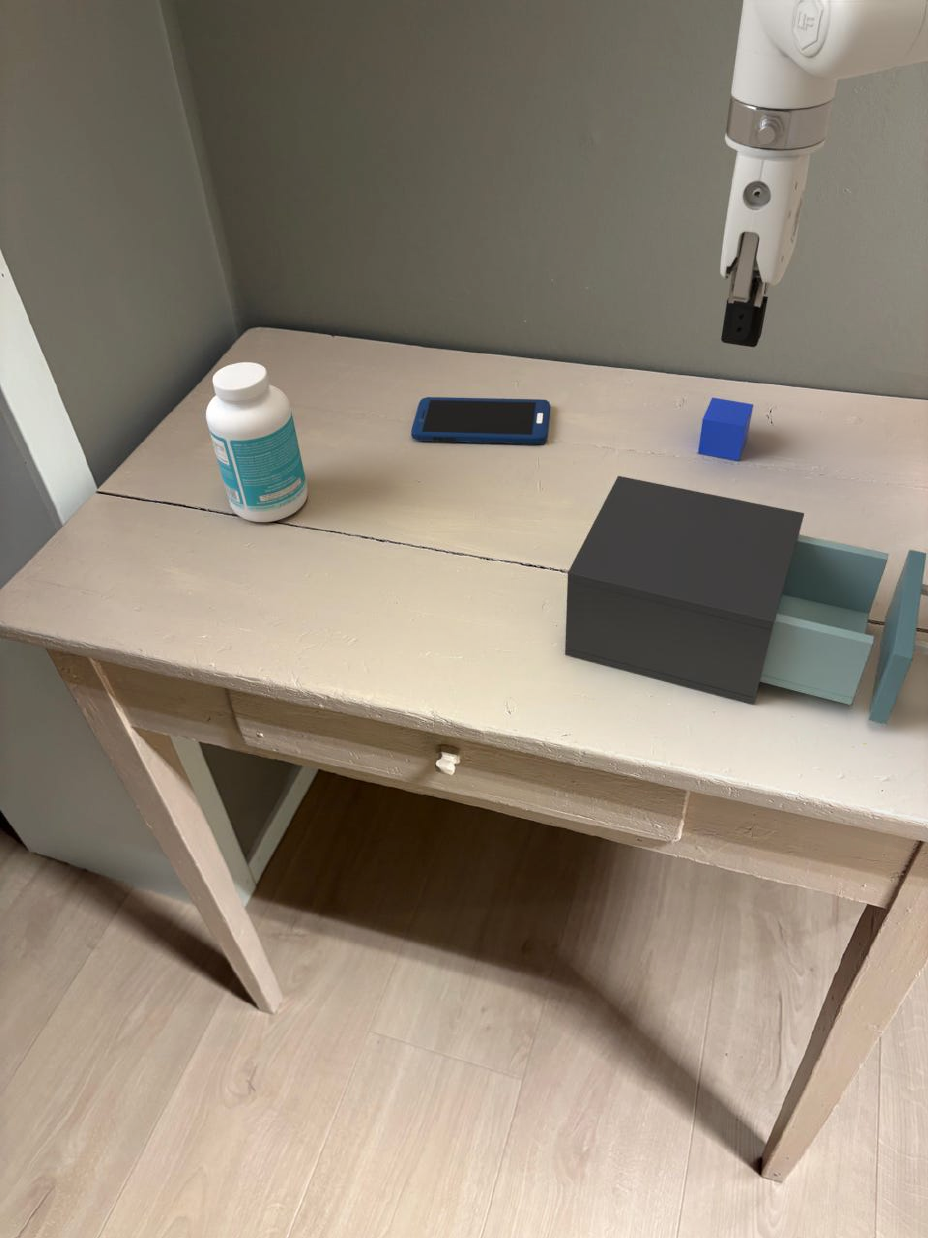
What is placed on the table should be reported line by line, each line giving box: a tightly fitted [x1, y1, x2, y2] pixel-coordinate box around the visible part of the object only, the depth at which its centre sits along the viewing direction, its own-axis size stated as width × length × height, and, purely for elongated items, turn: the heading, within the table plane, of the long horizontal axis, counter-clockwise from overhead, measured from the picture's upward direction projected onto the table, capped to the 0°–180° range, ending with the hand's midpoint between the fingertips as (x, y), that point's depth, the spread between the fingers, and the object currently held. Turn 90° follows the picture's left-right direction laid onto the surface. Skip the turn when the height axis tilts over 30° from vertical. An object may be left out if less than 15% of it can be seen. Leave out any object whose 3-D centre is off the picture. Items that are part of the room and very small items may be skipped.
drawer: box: [760, 534, 928, 725], centre depth 70 cm, size 18×11×7 cm, turn 67°
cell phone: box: [410, 396, 552, 445], centre depth 99 cm, size 7×14×1 cm, turn 83°
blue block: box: [697, 397, 754, 462], centre depth 93 cm, size 4×4×4 cm
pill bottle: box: [205, 361, 309, 523], centre depth 87 cm, size 8×7×14 cm
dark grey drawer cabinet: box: [564, 475, 805, 705], centre depth 74 cm, size 15×13×9 cm
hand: (740, 339), depth 86 cm, fingers closed
